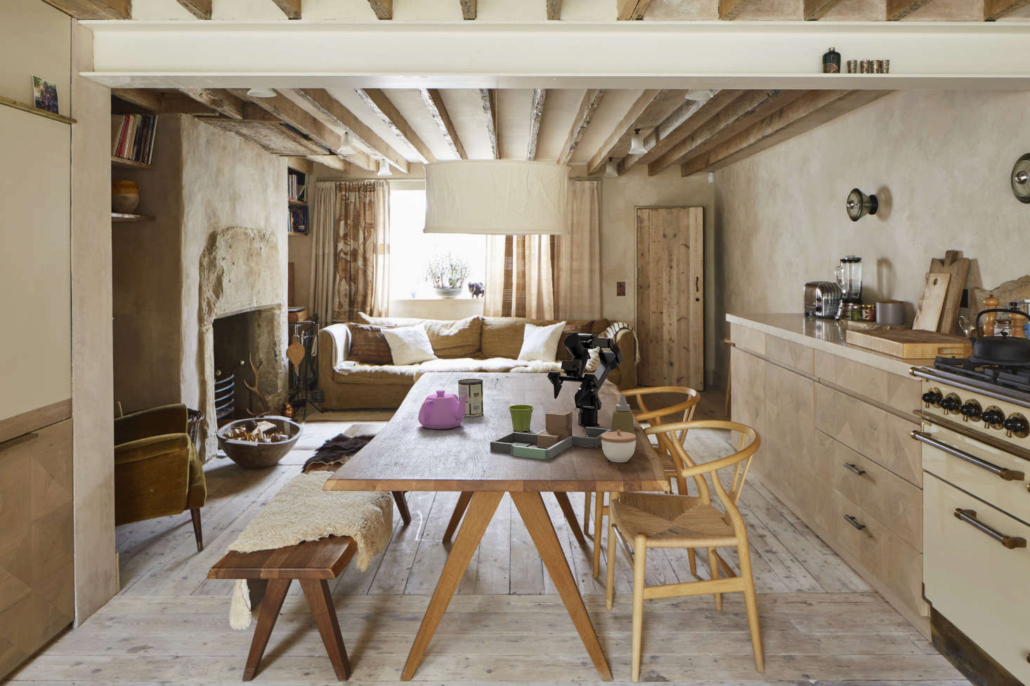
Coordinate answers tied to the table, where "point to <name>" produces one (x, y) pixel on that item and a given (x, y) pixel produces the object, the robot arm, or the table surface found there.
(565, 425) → the walnut block
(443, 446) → the table surface
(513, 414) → the plant pot
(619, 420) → the squeeze bottle
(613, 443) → the lidded jar
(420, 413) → the teapot
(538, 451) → the bent walled tray
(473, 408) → the coffee can
